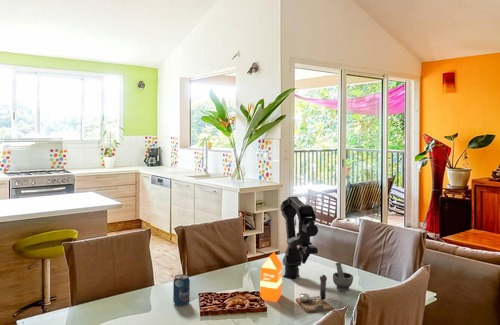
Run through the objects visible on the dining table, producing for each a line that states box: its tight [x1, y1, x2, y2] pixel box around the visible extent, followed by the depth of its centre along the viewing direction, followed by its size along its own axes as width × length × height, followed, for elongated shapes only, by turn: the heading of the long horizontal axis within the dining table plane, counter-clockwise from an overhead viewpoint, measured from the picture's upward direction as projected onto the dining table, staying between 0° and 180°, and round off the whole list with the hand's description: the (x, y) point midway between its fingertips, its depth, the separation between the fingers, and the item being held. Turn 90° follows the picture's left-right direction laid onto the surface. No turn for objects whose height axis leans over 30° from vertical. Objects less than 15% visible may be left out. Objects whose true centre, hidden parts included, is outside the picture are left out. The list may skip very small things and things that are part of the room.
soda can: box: [172, 273, 191, 307], centre depth 175 cm, size 7×7×12 cm
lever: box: [299, 274, 328, 303], centre depth 176 cm, size 4×12×12 cm, turn 90°
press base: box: [295, 295, 334, 314], centre depth 175 cm, size 13×12×5 cm
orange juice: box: [259, 251, 283, 303], centre depth 184 cm, size 8×9×20 cm
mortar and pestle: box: [332, 261, 354, 293], centre depth 196 cm, size 11×9×12 cm
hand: (303, 263), depth 194 cm, fingers closed
